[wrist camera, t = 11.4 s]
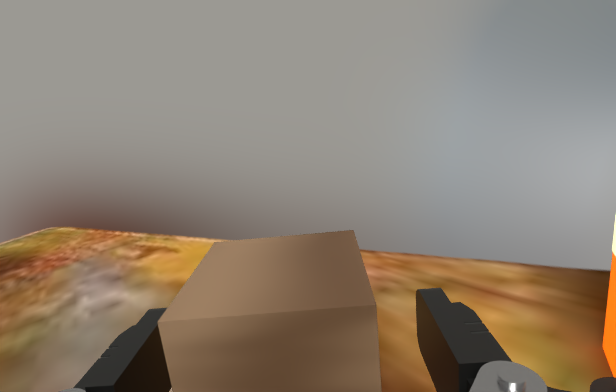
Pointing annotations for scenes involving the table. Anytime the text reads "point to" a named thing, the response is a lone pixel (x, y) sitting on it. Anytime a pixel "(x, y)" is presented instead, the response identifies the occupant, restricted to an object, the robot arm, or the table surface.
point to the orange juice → (611, 314)
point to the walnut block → (275, 319)
